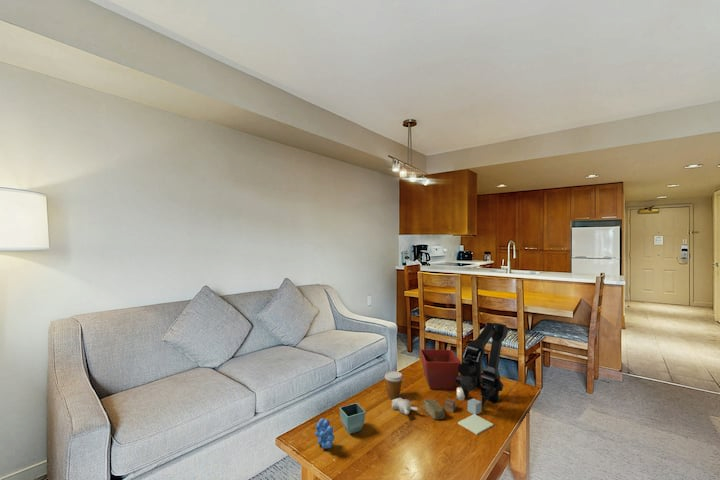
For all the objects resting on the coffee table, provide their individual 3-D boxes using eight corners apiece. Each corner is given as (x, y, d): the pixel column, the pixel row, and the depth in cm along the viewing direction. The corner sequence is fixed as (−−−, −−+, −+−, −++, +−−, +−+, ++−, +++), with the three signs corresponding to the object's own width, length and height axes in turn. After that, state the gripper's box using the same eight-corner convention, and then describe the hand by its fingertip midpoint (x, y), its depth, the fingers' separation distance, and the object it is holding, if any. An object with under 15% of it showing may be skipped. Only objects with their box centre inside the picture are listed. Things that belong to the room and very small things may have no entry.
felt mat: (474, 415, 154) (474, 414, 154) (493, 425, 146) (493, 424, 146) (457, 423, 147) (457, 422, 147) (476, 434, 139) (476, 433, 139)
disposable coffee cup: (403, 401, 166) (403, 378, 166) (384, 401, 167) (385, 378, 167) (401, 392, 176) (401, 370, 176) (383, 392, 176) (384, 370, 176)
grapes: (342, 451, 128) (342, 420, 128) (328, 458, 124) (328, 427, 123) (325, 437, 137) (325, 408, 137) (311, 443, 132) (311, 414, 132)
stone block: (434, 421, 149) (434, 410, 149) (421, 409, 160) (421, 399, 160) (445, 419, 151) (445, 408, 151) (432, 407, 162) (432, 397, 162)
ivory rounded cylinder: (459, 395, 173) (459, 386, 173) (466, 399, 170) (466, 389, 170) (454, 398, 171) (455, 388, 171) (461, 401, 167) (461, 391, 167)
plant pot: (461, 393, 176) (461, 362, 176) (425, 392, 176) (425, 361, 176) (451, 377, 195) (451, 349, 195) (419, 377, 196) (419, 349, 195)
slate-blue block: (473, 408, 161) (473, 398, 161) (481, 412, 157) (481, 402, 157) (467, 411, 158) (467, 400, 158) (475, 415, 154) (475, 404, 154)
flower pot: (347, 438, 136) (347, 417, 136) (338, 427, 144) (339, 407, 144) (365, 432, 140) (366, 411, 140) (356, 422, 148) (356, 402, 148)
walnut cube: (447, 406, 162) (447, 398, 162) (455, 409, 160) (455, 400, 160) (444, 410, 159) (444, 401, 159) (452, 412, 157) (452, 404, 157)
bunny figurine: (402, 393, 167) (420, 403, 154) (402, 404, 166) (421, 414, 153) (386, 398, 162) (404, 408, 149) (387, 408, 162) (405, 420, 149)
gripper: (448, 367, 160) (448, 399, 161) (481, 381, 145) (481, 416, 145) (462, 362, 167) (462, 393, 167) (496, 375, 151) (495, 409, 152)
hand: (474, 402), depth 157 cm, fingers open, 9 cm apart
